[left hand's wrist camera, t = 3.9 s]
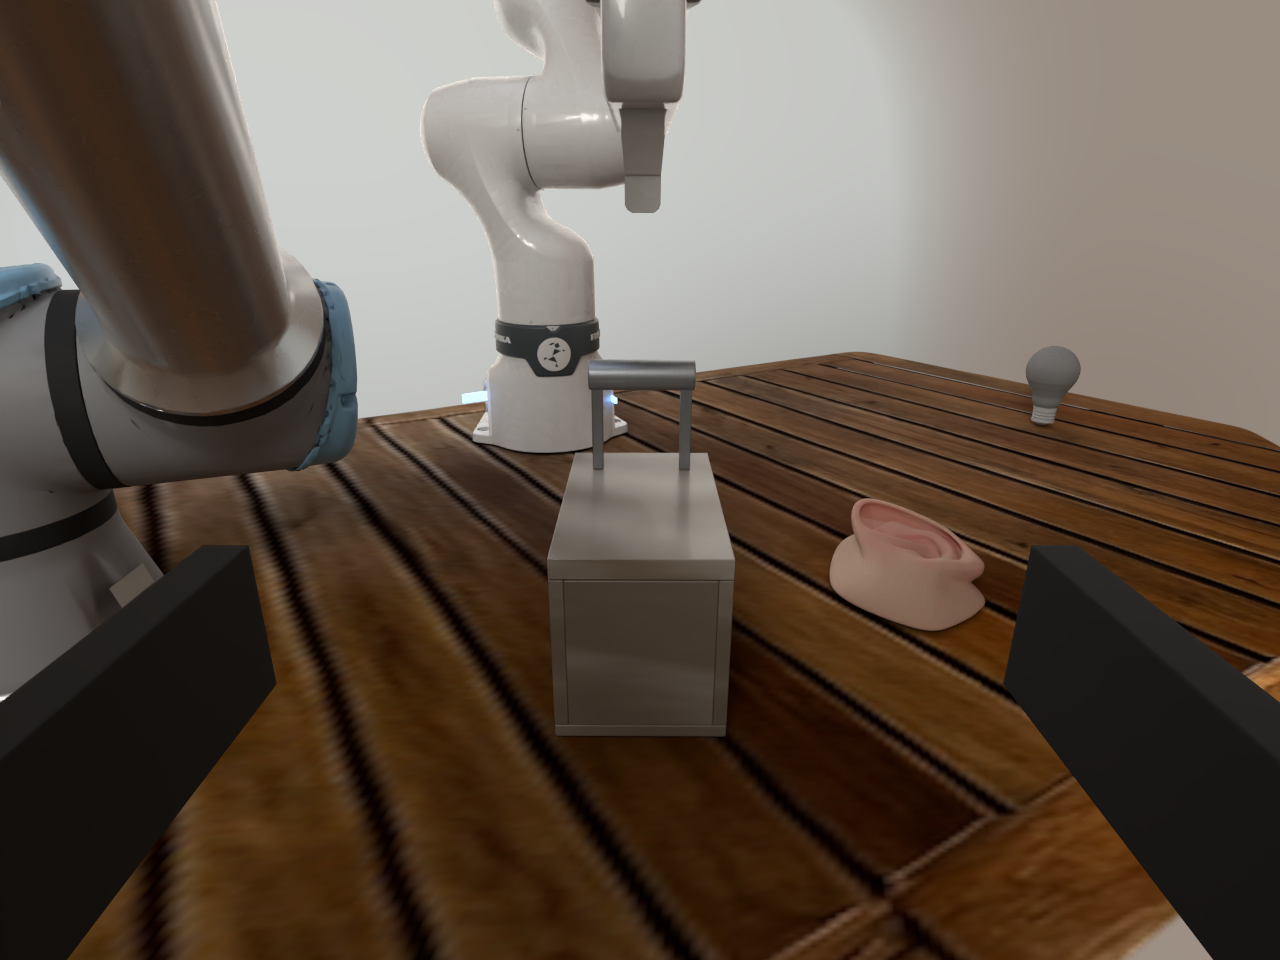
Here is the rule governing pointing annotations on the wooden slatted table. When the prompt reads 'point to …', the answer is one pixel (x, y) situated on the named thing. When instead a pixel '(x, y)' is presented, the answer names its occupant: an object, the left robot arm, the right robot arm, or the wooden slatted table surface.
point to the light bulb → (1050, 380)
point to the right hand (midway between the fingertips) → (642, 211)
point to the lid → (641, 496)
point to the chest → (640, 656)
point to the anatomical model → (906, 568)
